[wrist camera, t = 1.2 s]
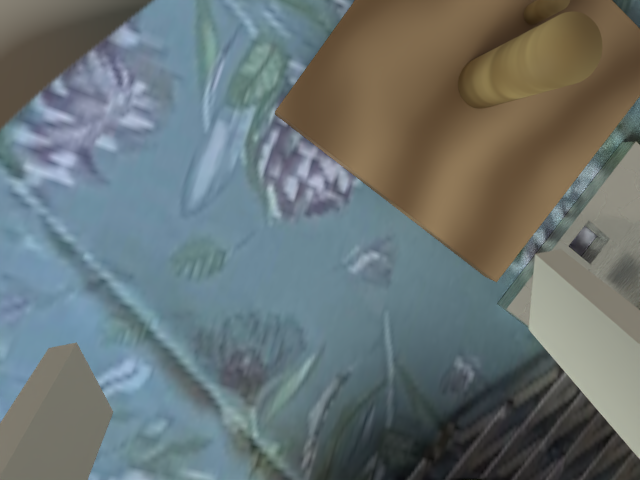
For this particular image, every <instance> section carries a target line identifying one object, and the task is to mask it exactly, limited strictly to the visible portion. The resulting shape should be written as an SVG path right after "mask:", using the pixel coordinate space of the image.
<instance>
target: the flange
mask: <svg viewBox="0 0 640 480" xmlns="http://www.w3.org/2000/svg"><path fill="white" fill-rule="evenodd" d="M584 225H585V226H586V227H587V228H588V229H590V230H591V231H592V232H593V233H594V234H595V235H597V237H596V239H595V240H594V241H593V242H592V244H591V245H590V246H589V248H588V249H587V250H586V251H585V253H584V254H583V255H582V257H581V256H579V255H578V254H577V253H576V252H575V251H573V250H572V249H571V248H570V247H569V245H570V244H571V242H572V241H573V240H574V238H575V237H576V236H577V235H578V233H579V232H580V231H581V229H582V228H583V227H584ZM558 249H562V250H563V251H564V252H565V253H567V254H568V255H569V256H571V257H572V258H573V259H574V260H576V261H577V262H578V263H580V264H581V265H582V266H584V267H585V268H586V269H587V270H589V271H590V272H591V273H593V274H594V275H595V276H596V277H598V278H599V279H600V280H602V281H603V282H604V283H605V284H607V285H608V286H609V287H611V288H612V289H613V290H615V291H616V292H617V293H618V294H620V295H621V296H622V297H624V298H625V299H626V300H627V301H629V302H630V303H631V304H633V305H634V306H635V307H636V308H638V309H639V310H640V145H639V144H638V143H637V142H636V141H634V142H622V143H621V144H620V145H619V147H618V148H617V149H616V151H615V152H614V153H613V154H612V156H611V157H610V158H609V160H608V161H607V162H606V163H605V165H604V166H603V167H602V169H601V170H600V171H599V173H598V174H597V175H596V176H595V178H594V179H593V180H592V182H591V183H590V184H589V185H588V187H587V188H586V189H585V191H584V192H583V193H582V195H581V196H580V197H579V198H578V200H577V201H576V202H575V204H574V205H573V206H572V208H571V209H570V210H569V211H568V213H567V214H566V215H565V217H564V218H563V219H562V220H561V222H560V223H559V224H558V226H557V227H556V228H555V230H554V231H553V232H552V233H551V235H550V236H549V237H548V239H547V240H546V241H545V242H544V244H543V245H542V246H541V248H540V249H539V250H538V252H537V253H536V254H538V253H543V252H548V251H553V250H558ZM534 262H535V255H534V257H533V258H532V259H531V261H530V262H529V263H528V265H527V266H526V267H525V268H524V270H523V271H522V272H521V274H520V275H519V276H518V277H517V279H516V280H515V281H514V283H513V284H512V285H511V287H510V288H509V289H508V290H507V292H506V293H505V294H504V296H503V297H502V298H501V299H500V301H499V302H498V303H497V304H498V305H499V306H501V307H502V308H503V309H505V310H506V311H507V312H509V313H510V314H511V315H512V316H514V317H515V318H516V319H518V320H519V321H520V322H522V323H523V324H524V325H526V326H527V327H528V328H529V319H530V308H531V296H532V285H533V273H534Z"/></svg>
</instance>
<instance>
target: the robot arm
mask: <svg viewBox="0 0 640 480" xmlns="http://www.w3.org/2000/svg"><path fill="white" fill-rule="evenodd" d="M529 330H530V331H531V333H532V334H533V335H534V336H535V337H536V338H537V340H538V341H539V342H540V343H541V344H542V346H543V347H544V348H545V349H546V350H547V351H548V353H549V354H550V355H551V356H552V357H553V358H554V360H555V361H556V362H557V363H558V364H559V365H560V367H561V368H562V369H563V370H564V371H565V372H566V374H567V375H568V376H569V377H570V378H571V379H572V381H573V382H574V383H575V384H576V385H577V387H578V388H579V389H580V390H581V391H582V392H583V394H584V395H585V396H586V397H587V398H588V399H589V401H590V402H591V403H592V404H593V405H594V406H595V408H596V409H597V410H598V411H599V412H600V413H601V415H602V416H603V417H604V418H605V419H606V420H607V422H608V423H609V424H610V425H611V426H612V427H613V429H614V430H615V431H616V432H617V433H618V435H619V436H620V437H621V438H622V439H623V440H624V442H625V443H626V444H627V445H628V446H629V447H630V449H631V450H632V451H633V452H634V453H635V454H636V456H637V457H638V458H639V459H640V310H639V309H638V308H636V307H635V306H634V305H633V304H631V303H630V302H629V301H627V300H626V299H625V298H624V297H622V296H621V295H620V294H618V293H617V292H616V291H615V290H613V289H612V288H611V287H609V286H608V285H607V284H605V283H604V282H603V281H602V280H600V279H599V278H598V277H596V276H595V275H594V274H593V273H591V272H590V271H589V270H587V269H586V268H585V267H584V266H582V265H581V264H580V263H578V262H577V261H576V260H574V259H573V258H572V257H571V256H569V255H568V254H567V253H565V252H564V251H563V250H562V249H558V250H553V251H548V252H543V253H538V254H535V262H534V273H533V285H532V296H531V308H530V319H529ZM112 414H113V411H112V409H111V407H110V405H109V403H108V401H107V399H106V397H105V395H104V393H103V392H102V390H101V388H100V386H99V384H98V382H97V380H96V378H95V376H94V374H93V373H92V371H91V369H90V367H89V365H88V363H87V361H86V359H85V357H84V356H83V354H82V352H81V350H80V348H79V346H78V344H77V343H73V344H67V345H62V346H57V347H52V348H49V349H48V350H47V352H46V353H45V355H44V357H43V358H42V360H41V361H40V363H39V364H38V366H37V367H36V369H35V370H34V372H33V373H32V375H31V377H30V378H29V380H28V381H27V383H26V384H25V386H24V387H23V389H22V390H21V392H20V393H19V395H18V397H17V398H16V400H15V401H14V403H13V404H12V406H11V407H10V409H9V410H8V412H7V414H6V415H5V417H4V418H3V420H2V421H1V423H0V480H88V477H89V474H90V472H91V469H92V467H93V464H94V461H95V459H96V456H97V453H98V451H99V448H100V446H101V443H102V440H103V438H104V435H105V432H106V430H107V427H108V425H109V422H110V419H111V417H112ZM463 480H481V479H463Z"/></svg>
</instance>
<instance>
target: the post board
mask: <svg viewBox="0 0 640 480" xmlns="http://www.w3.org/2000/svg"><path fill="white" fill-rule="evenodd" d="M639 96H640V28H639V27H638V26H637V25H636V24H635V23H634V22H633V21H632V20H631V19H630V18H629V17H628V16H627V15H626V14H625V13H624V12H623V11H622V10H621V9H620V8H619V7H618V6H617V5H616V4H615V3H614V2H613V1H612V0H355V1H354V2H353V4H352V5H351V7H350V8H349V9H348V11H347V12H346V14H345V15H344V16H343V18H342V19H341V21H340V22H339V23H338V25H337V26H336V27H335V29H334V30H333V32H332V33H331V34H330V36H329V37H328V39H327V40H326V41H325V43H324V44H323V46H322V47H321V48H320V50H319V51H318V53H317V54H316V55H315V57H314V58H313V60H312V61H311V62H310V64H309V65H308V67H307V68H306V69H305V71H304V72H303V74H302V75H301V76H300V78H299V79H298V80H297V82H296V83H295V85H294V86H293V87H292V89H291V90H290V92H289V93H288V94H287V96H286V97H285V99H284V100H283V101H282V103H281V104H280V106H279V107H278V108H277V110H276V111H275V115H276V116H278V117H279V118H280V119H282V120H283V121H284V122H286V123H287V124H288V125H289V126H291V127H292V128H293V129H295V130H296V131H297V132H299V133H300V134H301V135H302V136H304V137H305V138H306V139H308V140H309V141H310V142H311V143H313V144H314V145H315V146H317V147H318V148H319V149H321V150H322V151H323V152H324V153H326V154H327V155H328V156H330V157H331V158H332V159H333V160H335V161H336V162H337V163H339V164H340V165H341V166H343V167H344V168H345V169H346V170H348V171H349V172H350V173H352V174H353V175H354V176H356V177H357V178H358V179H359V180H361V181H362V182H363V183H365V184H366V185H367V186H368V187H370V188H371V189H372V190H374V191H375V192H376V193H378V194H379V195H380V196H381V197H383V198H384V199H385V200H387V201H388V202H389V203H390V204H392V205H393V206H394V207H396V208H397V209H398V210H400V211H401V212H402V213H403V214H405V215H406V216H407V217H409V218H410V219H411V220H412V221H414V222H415V223H416V224H418V225H419V226H420V227H422V228H423V229H424V230H425V231H427V232H428V233H429V234H431V235H432V236H433V237H435V238H436V239H437V240H438V241H440V242H441V243H442V244H444V245H445V246H446V247H447V248H449V249H450V250H451V251H453V252H454V253H455V254H457V255H458V256H459V257H460V258H462V259H463V260H464V261H466V262H467V263H468V264H469V265H471V266H472V267H473V268H475V269H476V270H477V271H479V272H480V273H481V274H482V275H484V276H485V277H487V278H489V279H491V280H493V281H495V282H497V281H498V280H499V278H500V277H501V276H502V275H503V273H504V272H505V271H506V269H507V268H508V267H509V265H510V264H511V263H512V262H513V260H514V259H515V258H516V256H517V255H518V254H519V252H520V251H521V250H522V249H523V247H524V246H525V245H526V243H527V242H528V241H529V239H530V238H531V237H532V236H533V234H534V233H535V232H536V230H537V229H538V228H539V226H540V225H541V224H542V223H543V221H544V220H545V219H546V217H547V216H548V215H549V213H550V212H551V211H552V210H553V208H554V207H555V206H556V204H557V203H558V202H559V200H560V199H561V198H562V197H563V195H564V194H565V193H566V191H567V190H568V189H569V187H570V186H571V185H572V184H573V182H574V181H575V180H576V178H577V177H578V176H579V174H580V173H581V172H582V171H583V169H584V168H585V167H586V165H587V164H588V163H589V161H590V160H591V159H592V158H593V156H594V155H595V154H596V152H597V151H598V150H599V148H600V147H601V146H602V145H603V143H604V142H605V141H606V139H607V138H608V137H609V135H610V134H611V133H612V132H613V130H614V129H615V128H616V126H617V125H618V124H619V122H620V121H621V120H622V119H623V117H624V116H625V115H626V113H627V112H628V111H629V109H630V108H631V107H632V106H633V104H634V103H635V102H636V100H637V99H638V98H639Z"/></svg>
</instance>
